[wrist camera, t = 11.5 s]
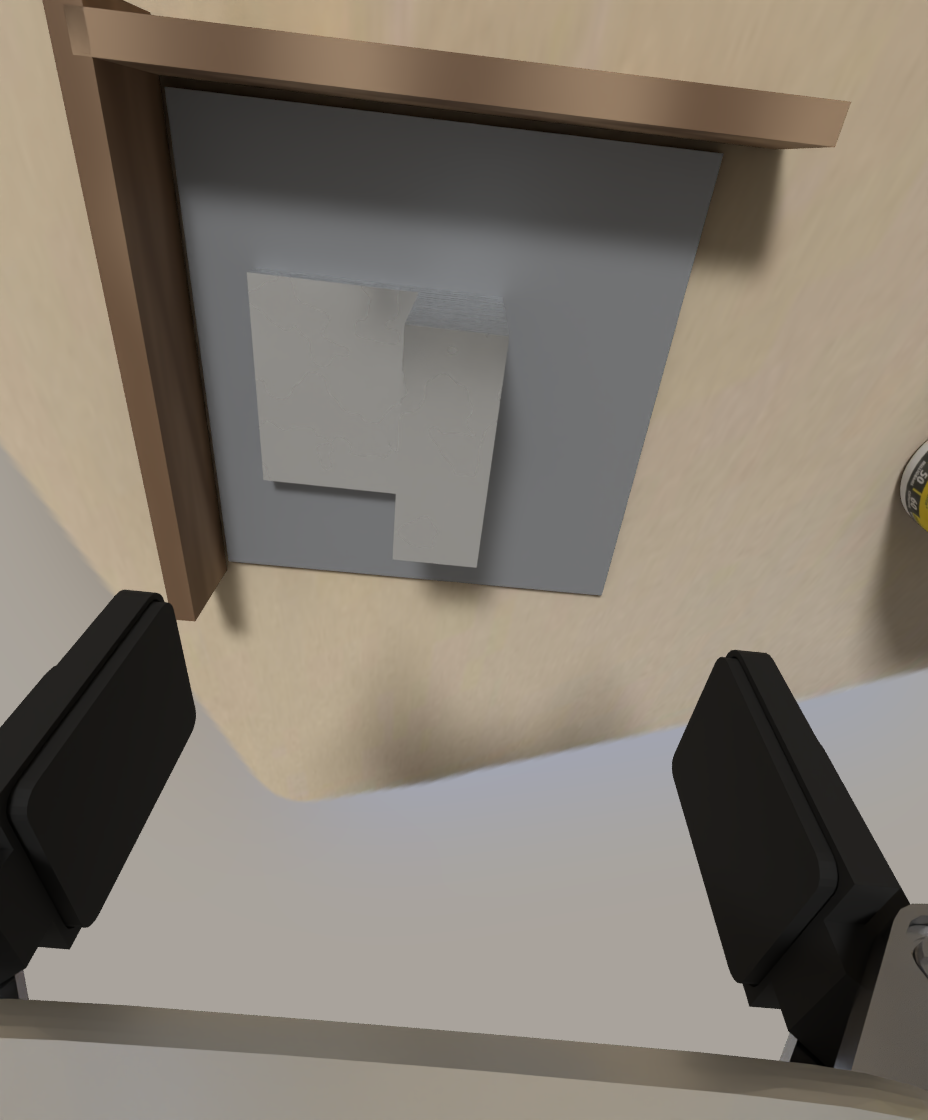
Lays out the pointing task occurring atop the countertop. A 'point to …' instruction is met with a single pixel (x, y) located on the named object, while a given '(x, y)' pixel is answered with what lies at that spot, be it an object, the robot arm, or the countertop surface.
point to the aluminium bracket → (382, 398)
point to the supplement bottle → (916, 487)
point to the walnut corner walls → (319, 68)
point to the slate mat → (452, 265)
